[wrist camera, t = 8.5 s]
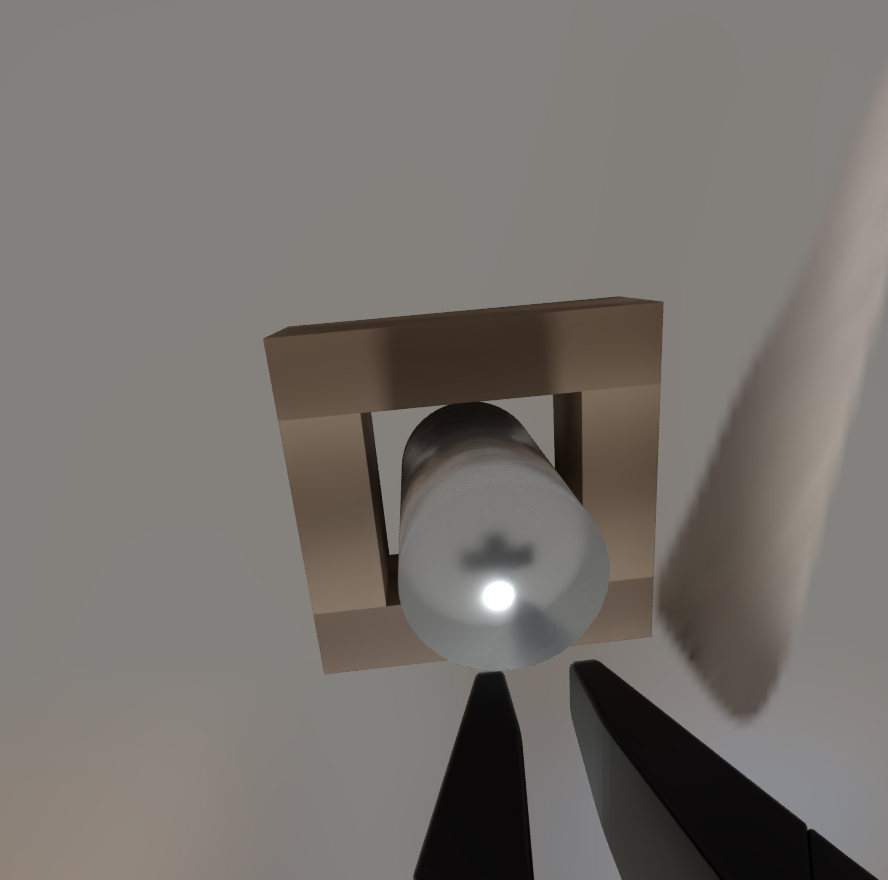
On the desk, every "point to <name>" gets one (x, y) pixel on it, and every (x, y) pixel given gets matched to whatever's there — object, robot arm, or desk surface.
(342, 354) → the frame
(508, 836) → the robot arm
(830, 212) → the desk surface
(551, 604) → the metal cylinder
